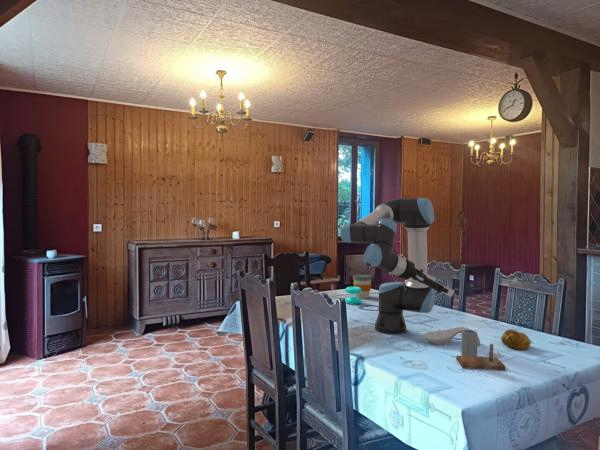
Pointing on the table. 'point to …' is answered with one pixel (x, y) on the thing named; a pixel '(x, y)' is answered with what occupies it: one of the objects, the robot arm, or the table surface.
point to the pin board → (483, 362)
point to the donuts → (353, 291)
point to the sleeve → (469, 346)
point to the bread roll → (515, 339)
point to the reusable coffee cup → (362, 285)
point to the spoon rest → (445, 336)
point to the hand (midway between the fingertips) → (443, 287)
